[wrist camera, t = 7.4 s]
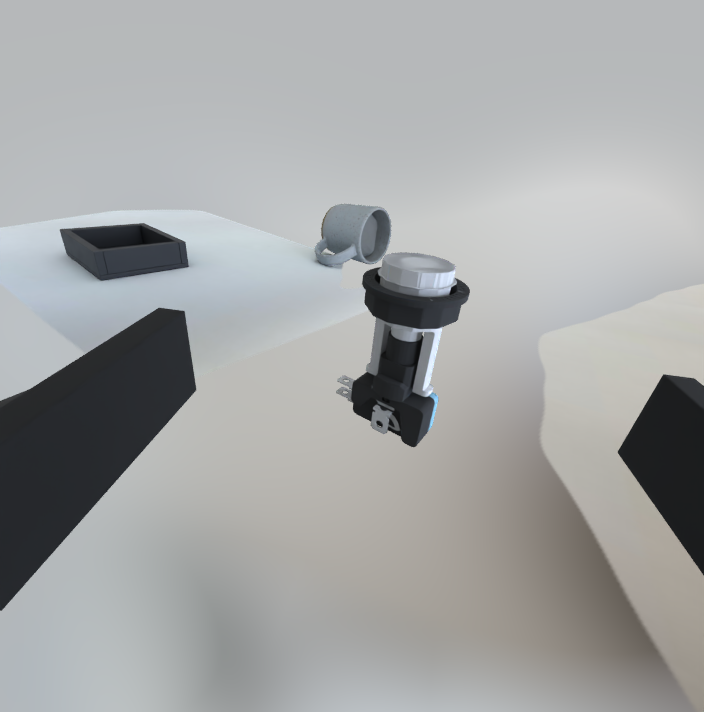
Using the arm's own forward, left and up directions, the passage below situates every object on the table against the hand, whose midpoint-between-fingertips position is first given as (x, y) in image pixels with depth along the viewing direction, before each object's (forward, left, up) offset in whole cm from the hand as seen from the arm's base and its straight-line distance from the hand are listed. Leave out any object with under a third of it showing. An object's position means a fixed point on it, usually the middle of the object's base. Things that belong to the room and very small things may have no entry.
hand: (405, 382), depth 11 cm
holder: (+8, +46, -9) cm, 47 cm away
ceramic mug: (+33, +32, -9) cm, 46 cm away
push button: (+8, +6, -9) cm, 13 cm away
